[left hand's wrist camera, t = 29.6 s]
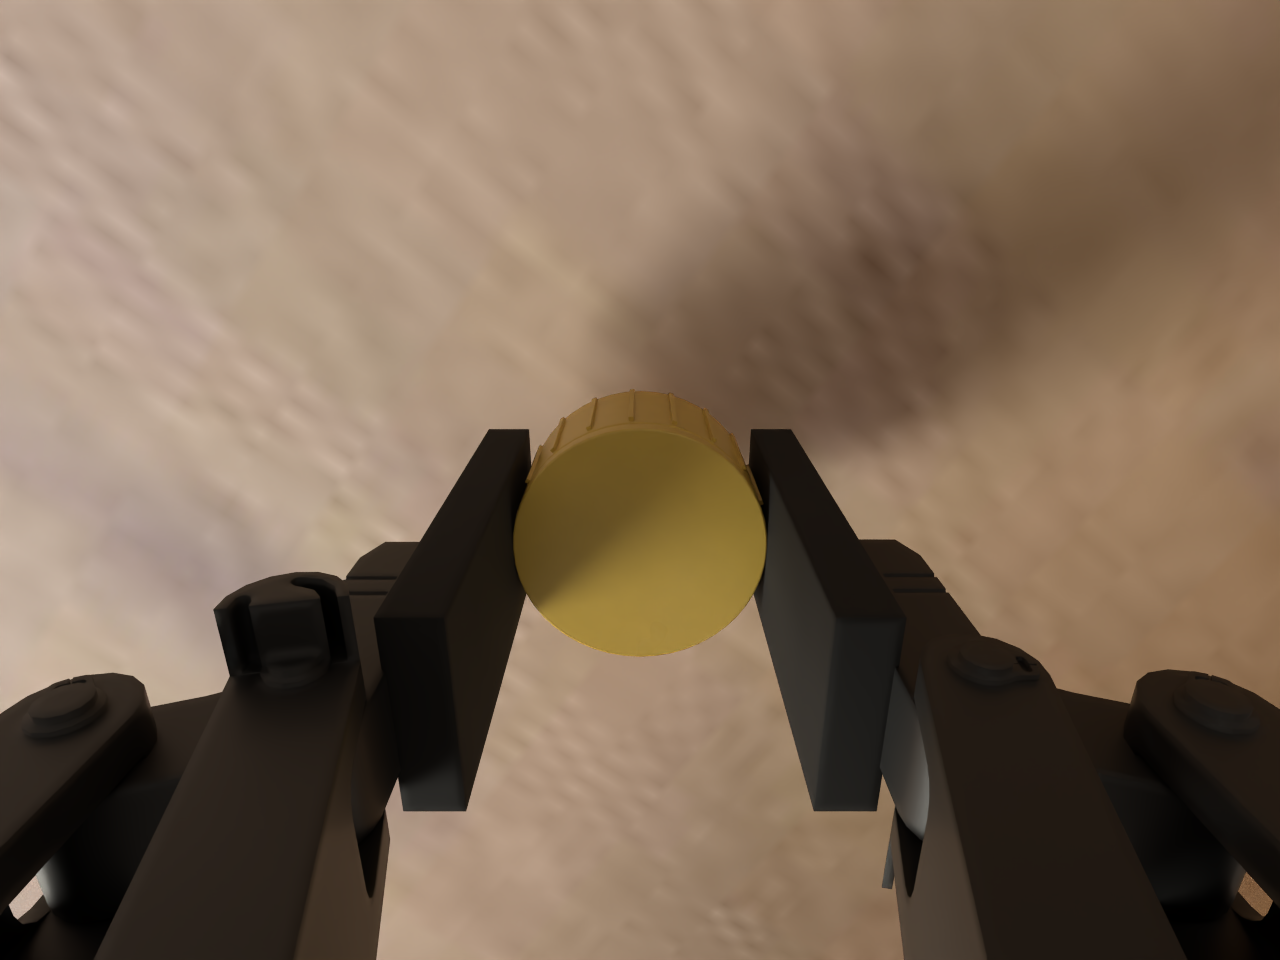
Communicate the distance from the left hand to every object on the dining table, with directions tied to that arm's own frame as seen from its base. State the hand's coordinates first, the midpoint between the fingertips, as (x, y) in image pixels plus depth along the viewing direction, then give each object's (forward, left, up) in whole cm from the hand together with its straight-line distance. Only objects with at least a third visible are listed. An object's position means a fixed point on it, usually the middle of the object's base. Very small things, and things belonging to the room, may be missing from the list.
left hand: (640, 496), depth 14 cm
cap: (0, 0, +2) cm, 2 cm away
